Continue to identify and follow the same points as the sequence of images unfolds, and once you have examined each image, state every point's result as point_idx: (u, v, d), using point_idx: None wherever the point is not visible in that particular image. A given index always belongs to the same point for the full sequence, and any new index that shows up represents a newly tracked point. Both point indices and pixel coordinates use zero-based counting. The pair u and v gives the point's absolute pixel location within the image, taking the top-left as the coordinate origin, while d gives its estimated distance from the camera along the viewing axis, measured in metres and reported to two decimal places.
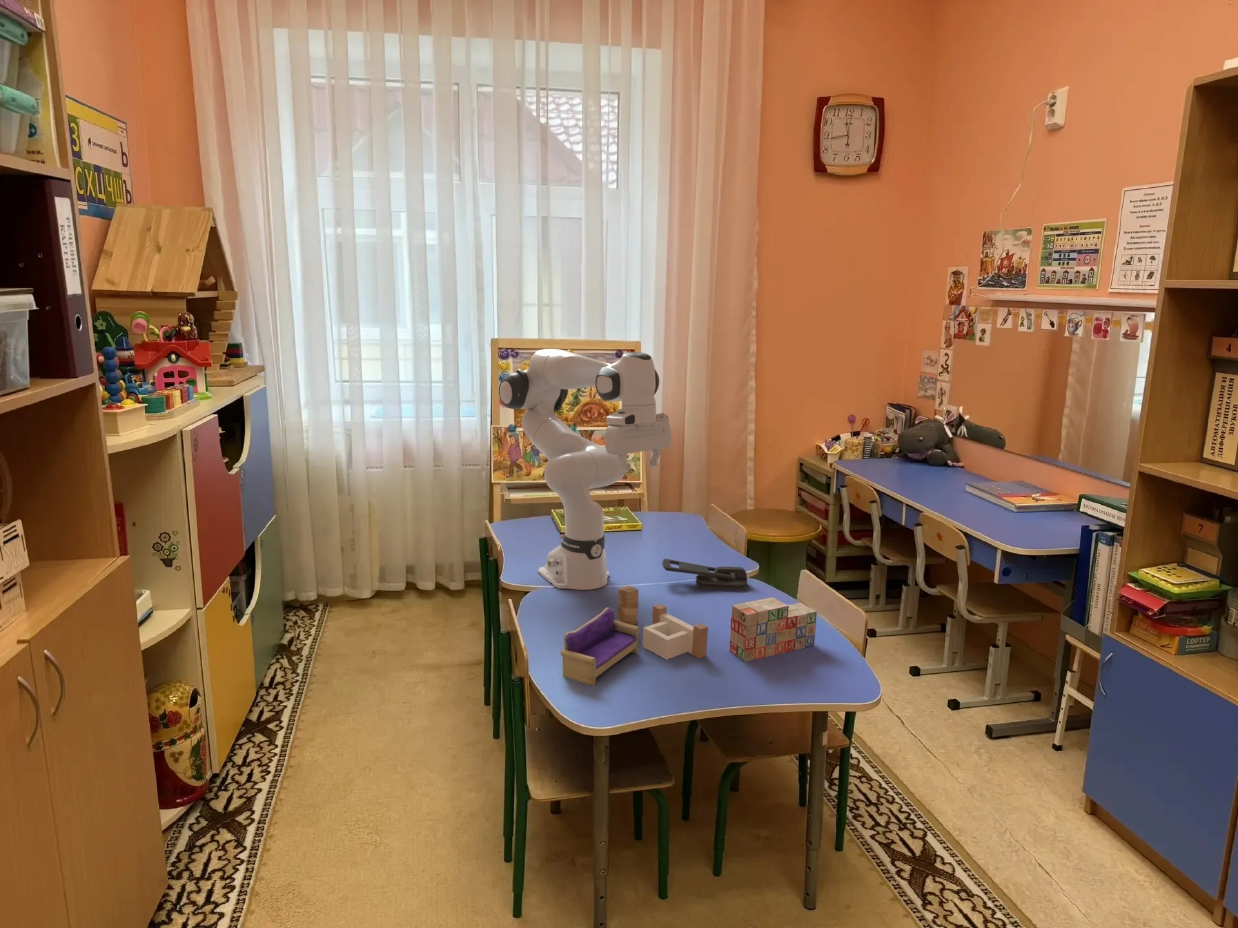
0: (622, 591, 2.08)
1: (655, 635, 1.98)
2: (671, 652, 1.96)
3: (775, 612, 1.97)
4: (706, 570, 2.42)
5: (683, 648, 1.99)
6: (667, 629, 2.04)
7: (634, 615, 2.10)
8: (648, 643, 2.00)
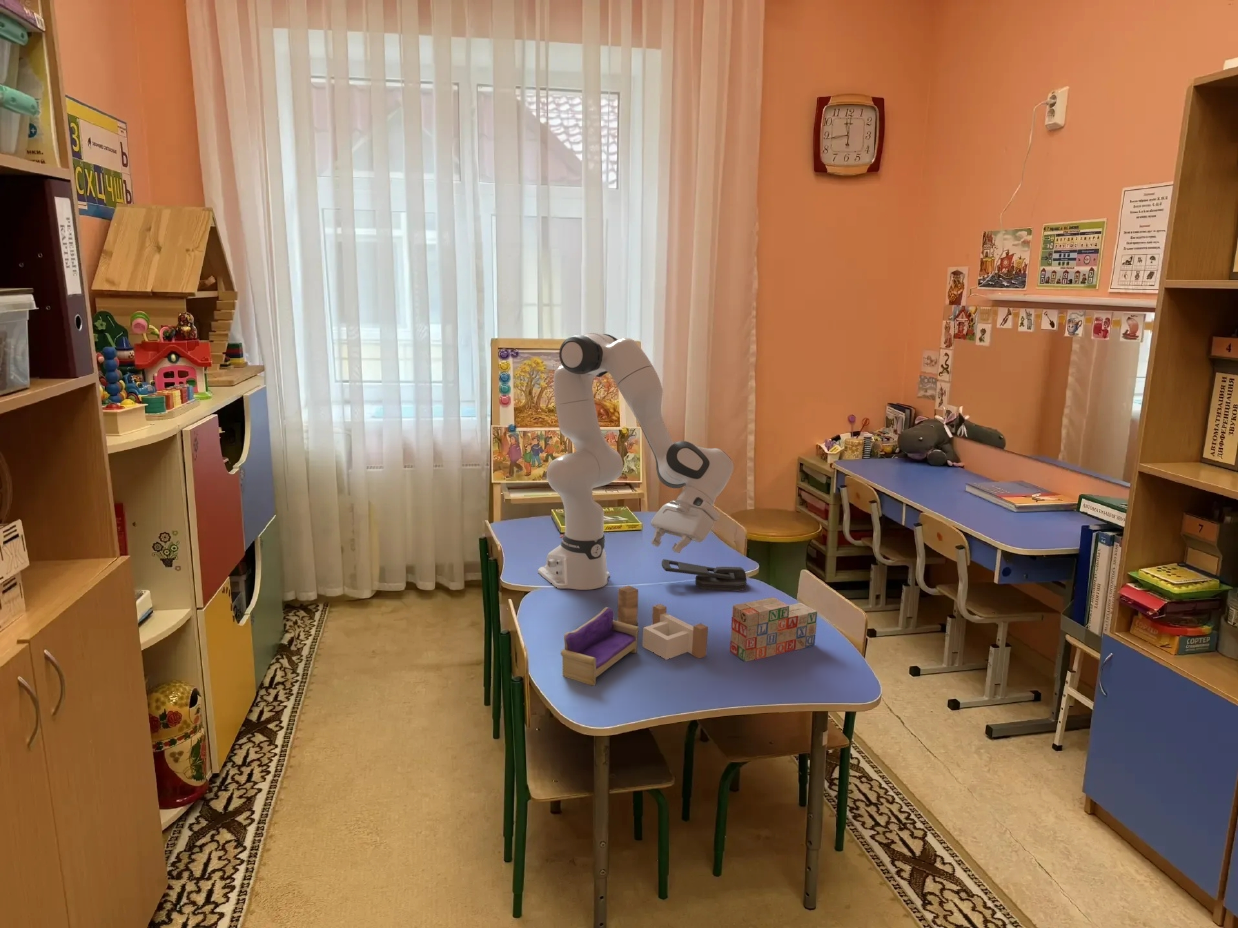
0: (622, 591, 2.08)
1: (655, 635, 1.98)
2: (671, 652, 1.96)
3: (776, 612, 1.97)
4: (705, 570, 2.41)
5: (683, 648, 1.99)
6: (667, 629, 2.04)
7: (634, 615, 2.10)
8: (648, 643, 2.00)
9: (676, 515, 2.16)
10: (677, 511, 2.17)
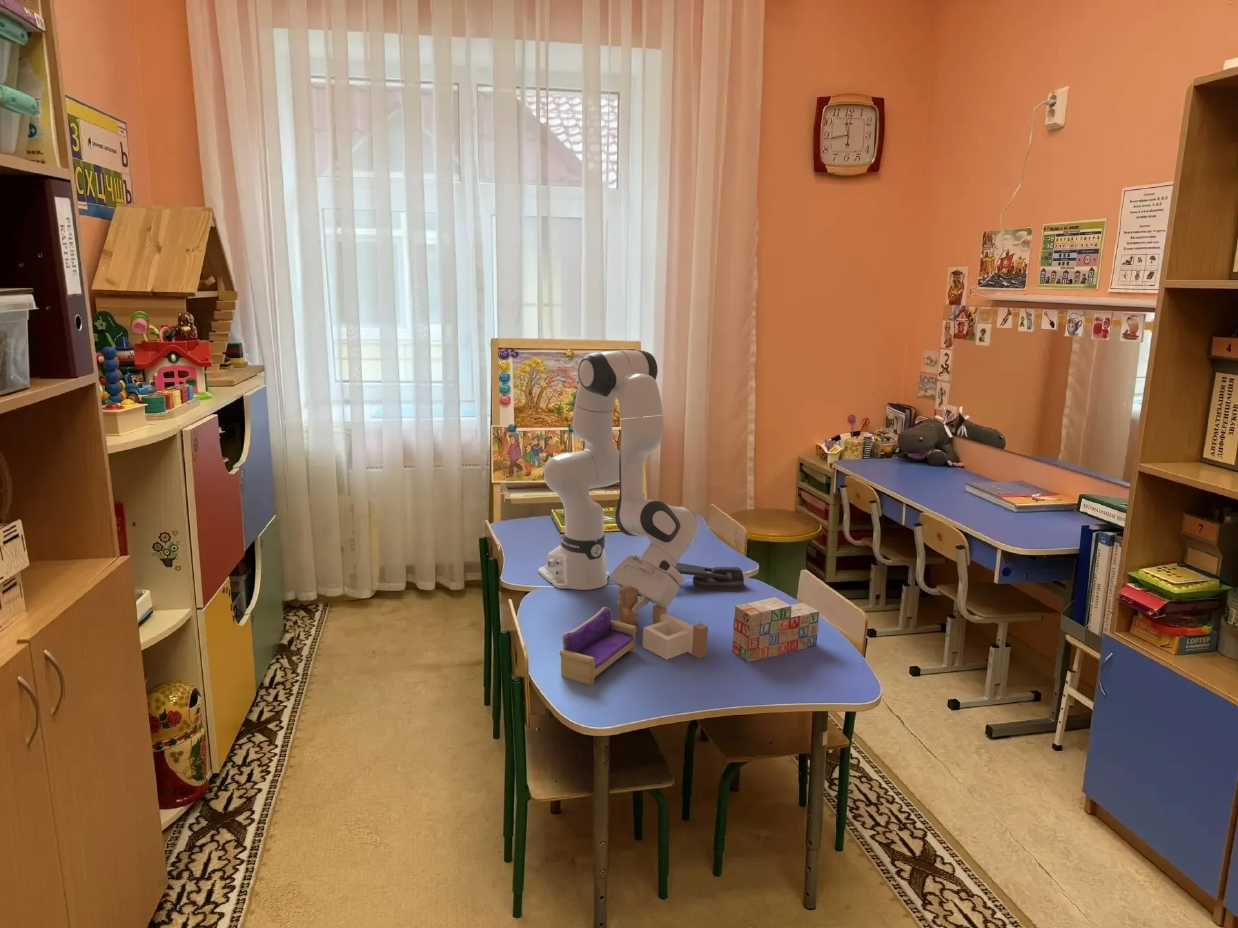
0: (622, 591, 2.08)
1: (655, 635, 1.98)
2: (671, 652, 1.96)
3: (778, 613, 1.97)
4: (703, 571, 2.41)
5: (683, 648, 1.99)
6: (667, 629, 2.04)
7: (634, 615, 2.10)
8: (648, 643, 2.00)
9: (639, 574, 2.12)
10: (640, 570, 2.13)
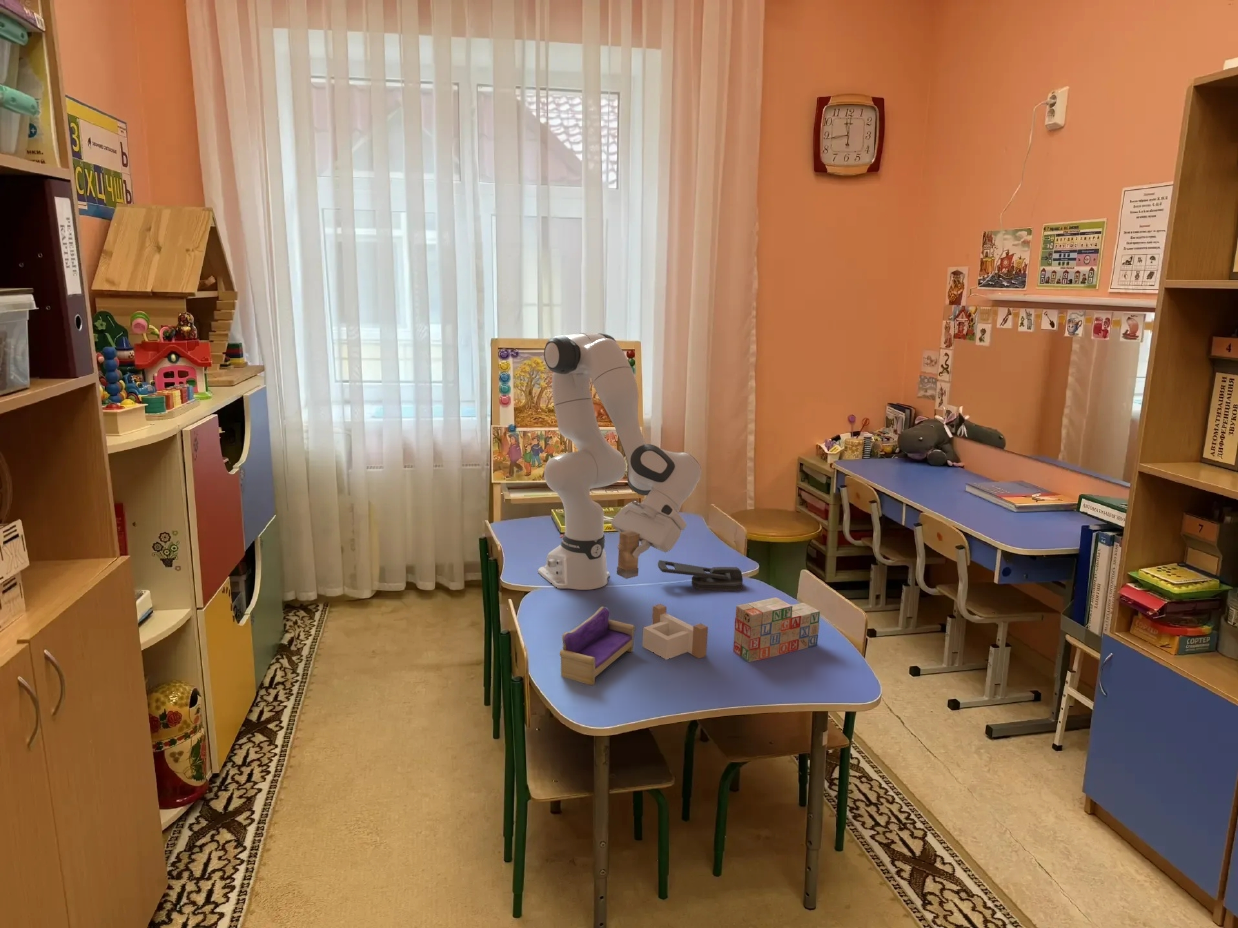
0: (623, 535, 2.05)
1: (655, 635, 1.98)
2: (671, 652, 1.96)
3: (779, 613, 1.97)
4: (702, 571, 2.41)
5: (683, 648, 1.99)
6: (667, 629, 2.04)
7: (635, 560, 2.06)
8: (648, 643, 2.00)
9: (640, 519, 2.09)
10: (641, 515, 2.09)
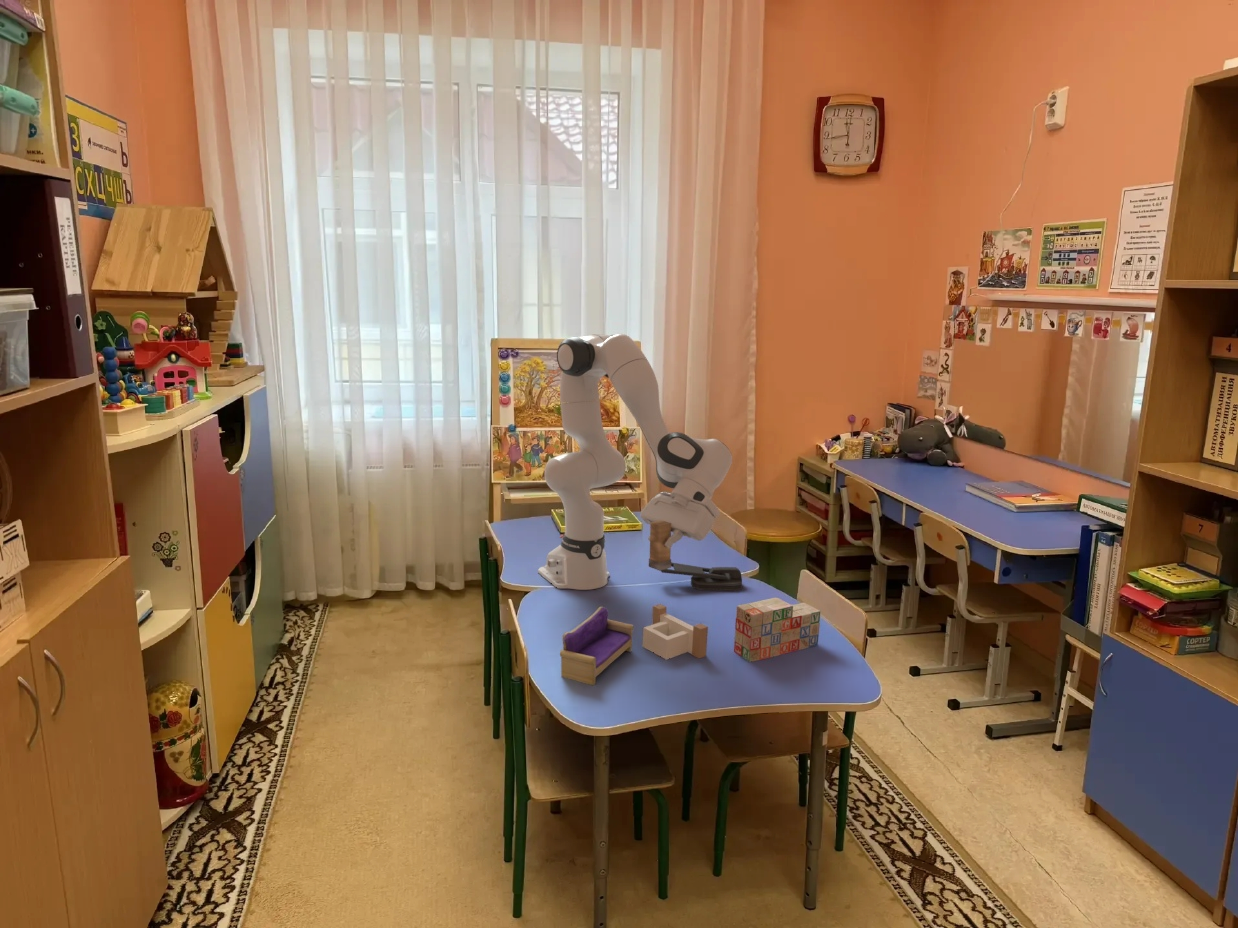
0: (654, 525, 1.96)
1: (655, 635, 1.98)
2: (671, 652, 1.96)
3: (780, 613, 1.97)
4: (701, 571, 2.41)
5: (683, 648, 1.99)
6: (667, 629, 2.04)
7: (667, 551, 1.98)
8: (648, 643, 2.00)
9: (671, 509, 2.01)
10: (672, 504, 2.01)
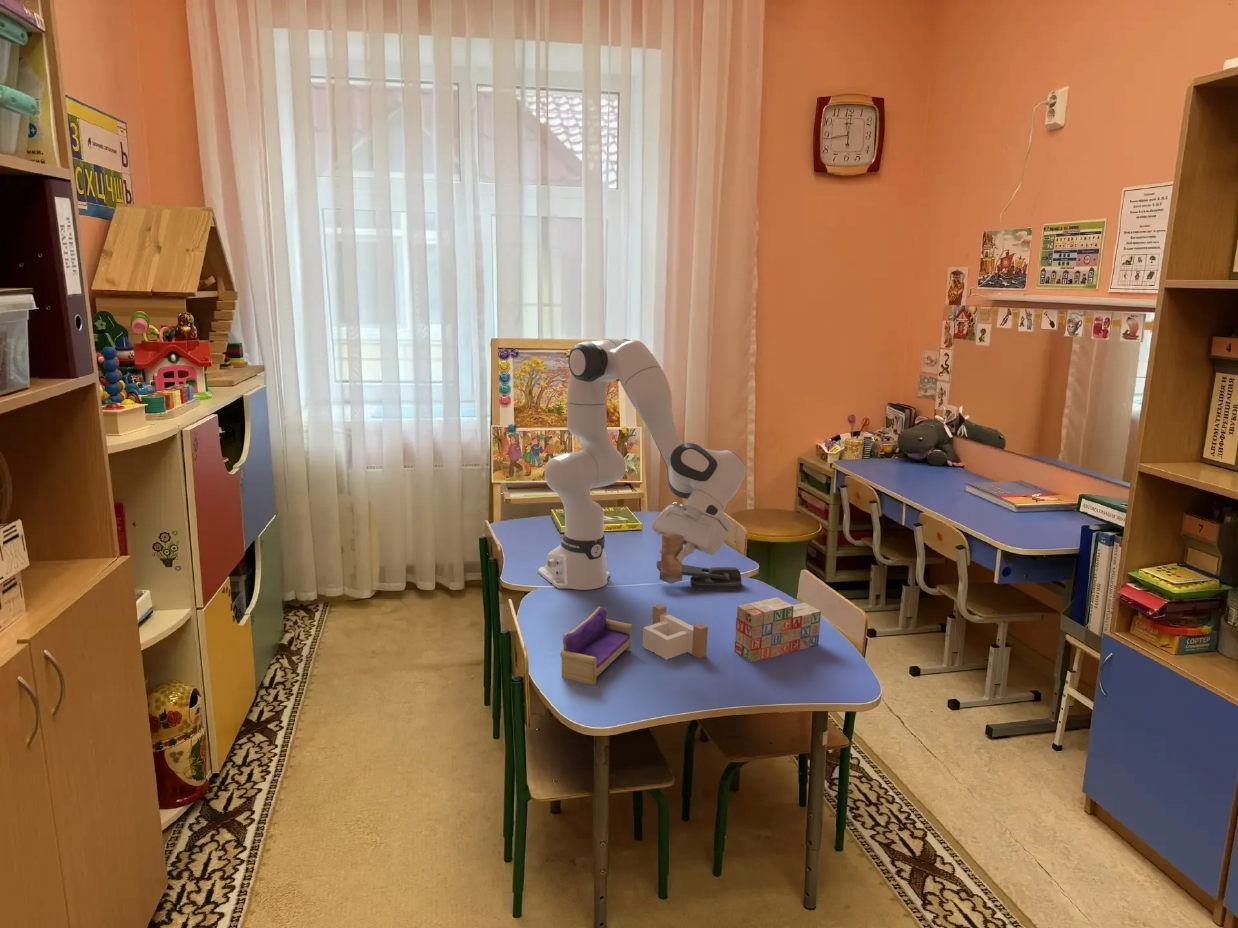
0: (666, 538, 1.94)
1: (655, 635, 1.98)
2: (671, 652, 1.96)
3: (780, 613, 1.97)
4: (701, 571, 2.41)
5: (683, 648, 1.99)
6: (667, 629, 2.04)
7: (679, 564, 1.96)
8: (648, 643, 2.00)
9: (683, 521, 1.98)
10: (684, 516, 1.99)
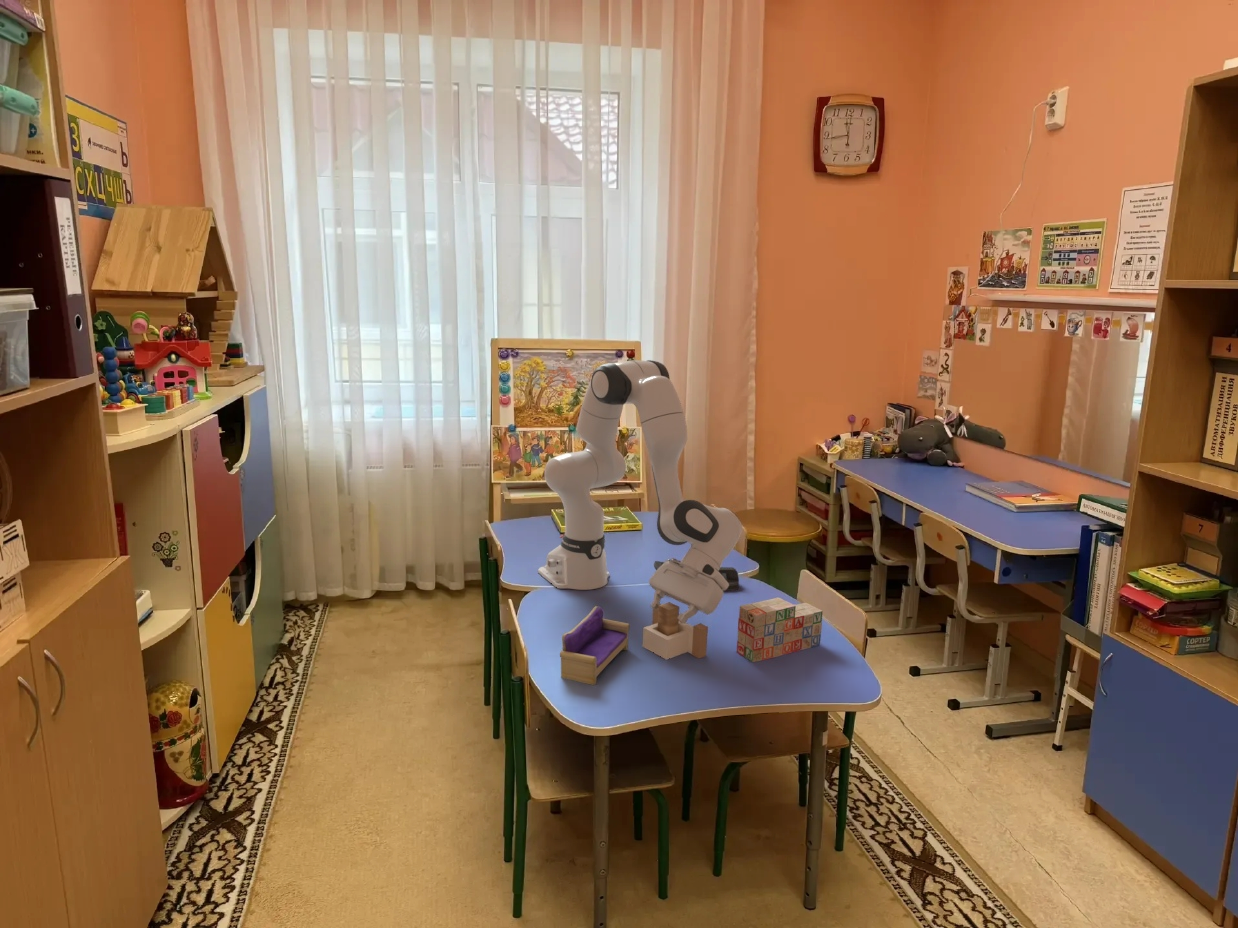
0: (662, 608, 1.98)
1: (655, 635, 1.98)
2: (671, 652, 1.96)
3: (782, 613, 1.97)
4: None
5: (683, 648, 1.99)
6: None
7: (675, 633, 2.00)
8: (648, 643, 2.00)
9: (680, 579, 2.02)
10: (681, 574, 2.02)
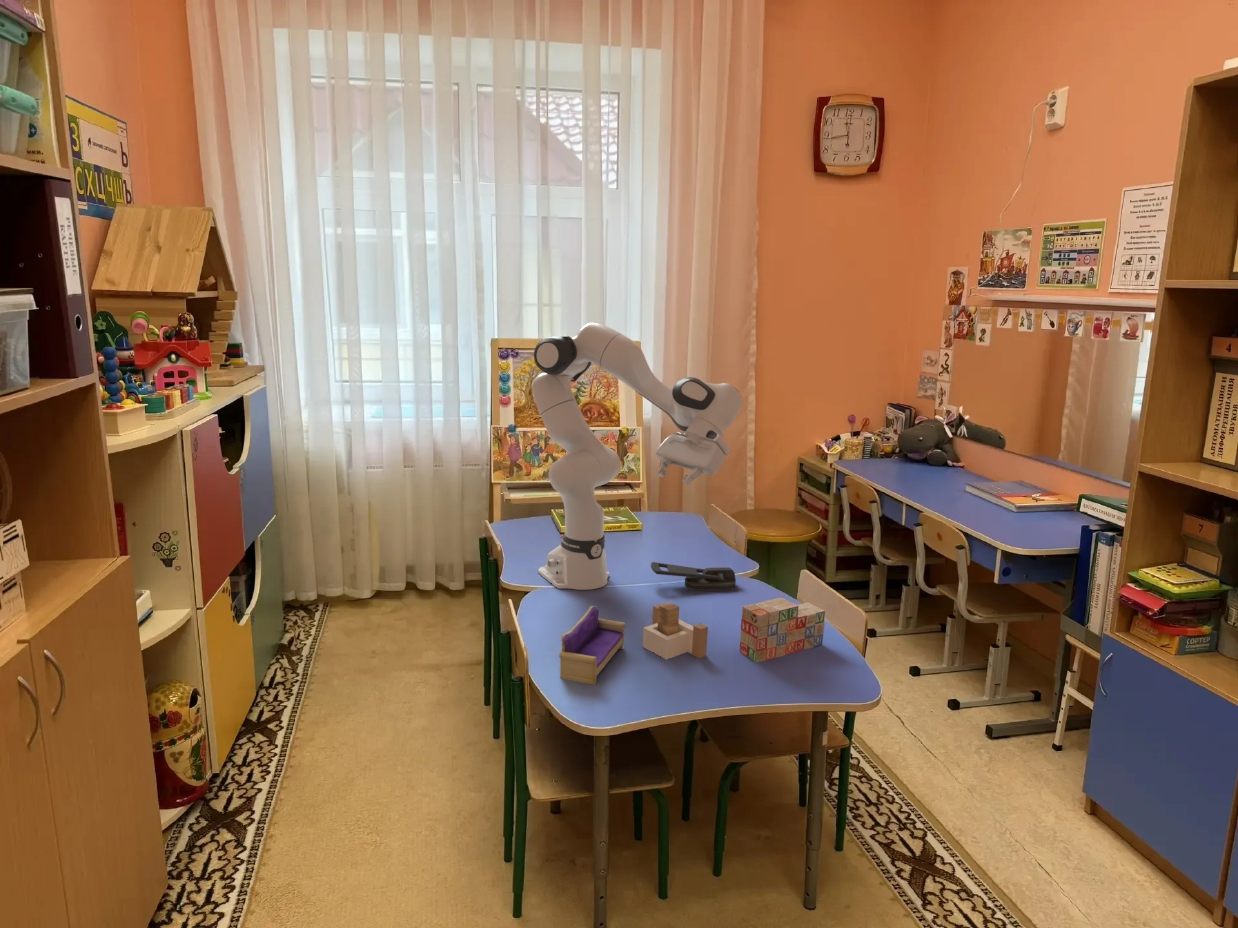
0: (662, 608, 1.98)
1: (655, 635, 1.98)
2: (671, 652, 1.96)
3: (785, 613, 1.97)
4: (695, 572, 2.40)
5: (683, 648, 1.99)
6: None
7: (675, 633, 2.00)
8: (648, 643, 2.00)
9: (685, 447, 2.15)
10: (686, 443, 2.16)
